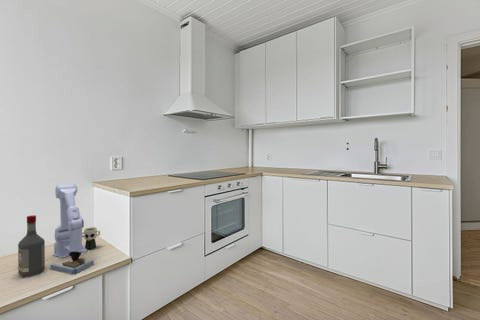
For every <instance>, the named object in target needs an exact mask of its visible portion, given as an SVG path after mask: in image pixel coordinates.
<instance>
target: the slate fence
mask: <svg viewBox="0 0 480 320" xmlns="http://www.w3.org/2000/svg"><path fill="white" fill-rule="evenodd" d="M94 260H95V259H91V260H89V261H85V263H84V264H82V265H80V266H78V267H76V268H72V267H67V266H63V264H59V263H51V264H50V265H49V269H50V270H53V271H57V272H61V273H65V274H70V275H73V274H74V275H76V274H78V273H80V272H82V271H84V270H86V269H88V268H89V267H92V266H94V264H95V261H94Z"/></svg>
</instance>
